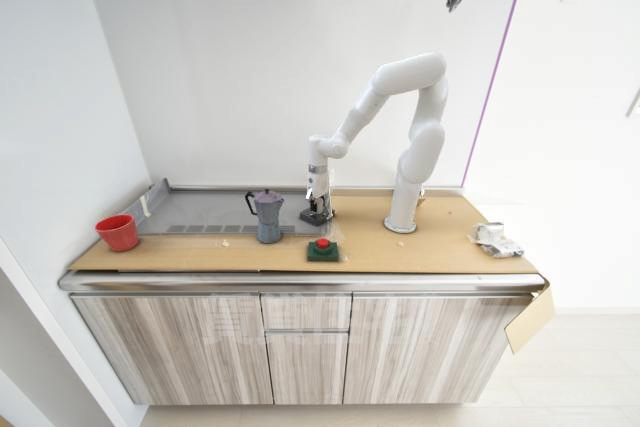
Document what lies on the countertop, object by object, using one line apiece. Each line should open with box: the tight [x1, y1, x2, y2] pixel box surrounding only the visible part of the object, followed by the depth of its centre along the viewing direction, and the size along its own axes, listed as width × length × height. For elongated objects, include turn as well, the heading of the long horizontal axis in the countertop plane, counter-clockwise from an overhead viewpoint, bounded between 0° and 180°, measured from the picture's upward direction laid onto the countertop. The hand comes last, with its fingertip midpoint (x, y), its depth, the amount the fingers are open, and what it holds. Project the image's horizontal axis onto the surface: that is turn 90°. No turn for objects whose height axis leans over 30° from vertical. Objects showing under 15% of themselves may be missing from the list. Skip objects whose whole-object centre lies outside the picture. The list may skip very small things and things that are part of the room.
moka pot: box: [244, 188, 286, 244], centre depth 87 cm, size 10×15×20 cm, turn 78°
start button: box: [317, 237, 329, 248], centre depth 81 cm, size 4×4×2 cm
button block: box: [307, 239, 339, 263], centre depth 82 cm, size 10×8×4 cm
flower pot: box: [94, 213, 139, 252], centre depth 83 cm, size 11×11×10 cm
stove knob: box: [312, 198, 323, 214], centre depth 102 cm, size 5×5×6 cm
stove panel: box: [299, 205, 336, 227], centre depth 105 cm, size 12×10×3 cm
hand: (317, 208), depth 103 cm, fingers closed on stove knob, 4 cm apart
